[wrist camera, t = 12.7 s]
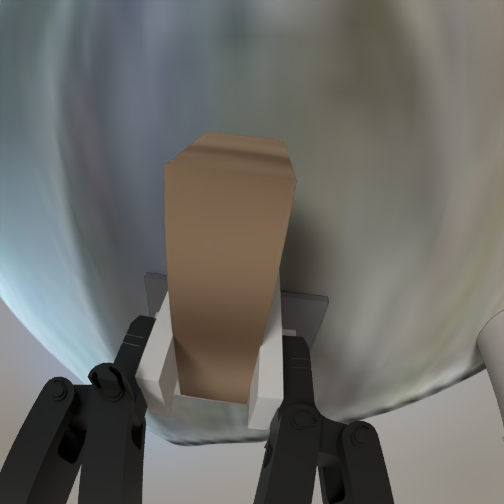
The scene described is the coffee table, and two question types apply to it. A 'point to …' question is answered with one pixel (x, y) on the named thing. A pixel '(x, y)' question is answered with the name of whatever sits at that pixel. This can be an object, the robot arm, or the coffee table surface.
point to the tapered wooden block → (224, 258)
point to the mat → (292, 307)
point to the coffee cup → (494, 355)
